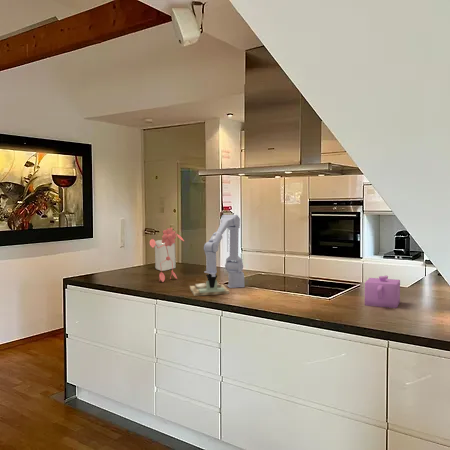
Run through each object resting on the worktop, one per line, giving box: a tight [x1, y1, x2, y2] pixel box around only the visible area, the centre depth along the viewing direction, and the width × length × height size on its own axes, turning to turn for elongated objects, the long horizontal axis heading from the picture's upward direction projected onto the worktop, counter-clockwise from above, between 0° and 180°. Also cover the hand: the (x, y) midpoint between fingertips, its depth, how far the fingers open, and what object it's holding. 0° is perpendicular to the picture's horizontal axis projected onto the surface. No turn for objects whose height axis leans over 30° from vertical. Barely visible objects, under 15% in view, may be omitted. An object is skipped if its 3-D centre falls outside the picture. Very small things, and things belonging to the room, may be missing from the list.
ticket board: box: [189, 282, 230, 297], centre depth 274 cm, size 20×20×3 cm
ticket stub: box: [199, 279, 225, 293], centre depth 265 cm, size 14×5×6 cm, turn 101°
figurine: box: [149, 227, 185, 284], centre depth 303 cm, size 15×26×35 cm, turn 136°
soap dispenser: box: [154, 239, 177, 272], centre depth 352 cm, size 15×14×22 cm
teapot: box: [364, 275, 401, 309], centre depth 237 cm, size 15×25×14 cm, turn 153°
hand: (211, 287), depth 264 cm, fingers closed on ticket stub
